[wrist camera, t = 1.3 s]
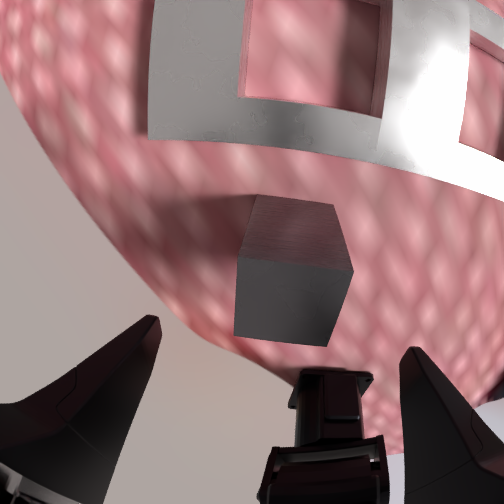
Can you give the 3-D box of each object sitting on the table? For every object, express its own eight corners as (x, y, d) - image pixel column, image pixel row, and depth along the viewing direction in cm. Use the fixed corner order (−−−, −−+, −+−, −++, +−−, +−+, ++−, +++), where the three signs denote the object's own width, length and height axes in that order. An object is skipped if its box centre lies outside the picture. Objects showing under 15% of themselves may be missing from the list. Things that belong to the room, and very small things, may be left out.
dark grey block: (319, 267, 17) (326, 346, 12) (251, 258, 17) (233, 335, 12) (333, 204, 15) (353, 271, 9) (257, 194, 15) (237, 256, 10)
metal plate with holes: (534, 208, 12) (550, 221, 10) (165, 132, 13) (147, 139, 12) (557, 77, 7) (575, 82, 5) (178, -37, 8) (163, -51, 6)
